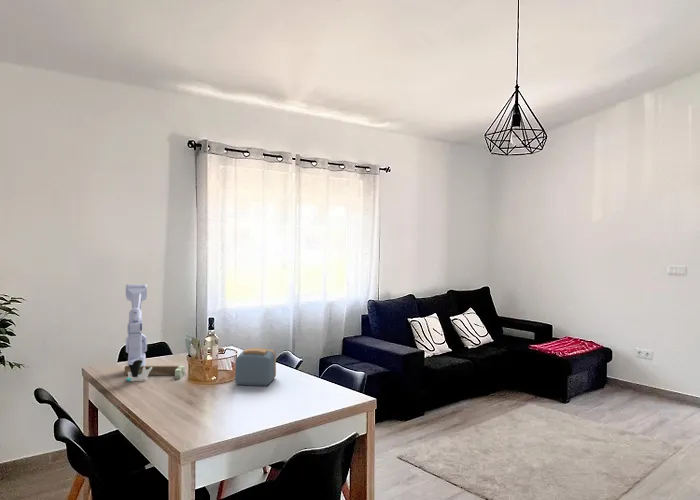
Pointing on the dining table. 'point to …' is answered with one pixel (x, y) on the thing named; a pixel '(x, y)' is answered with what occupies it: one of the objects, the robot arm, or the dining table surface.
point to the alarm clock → (255, 367)
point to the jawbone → (141, 376)
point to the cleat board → (161, 370)
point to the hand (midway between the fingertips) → (135, 376)
